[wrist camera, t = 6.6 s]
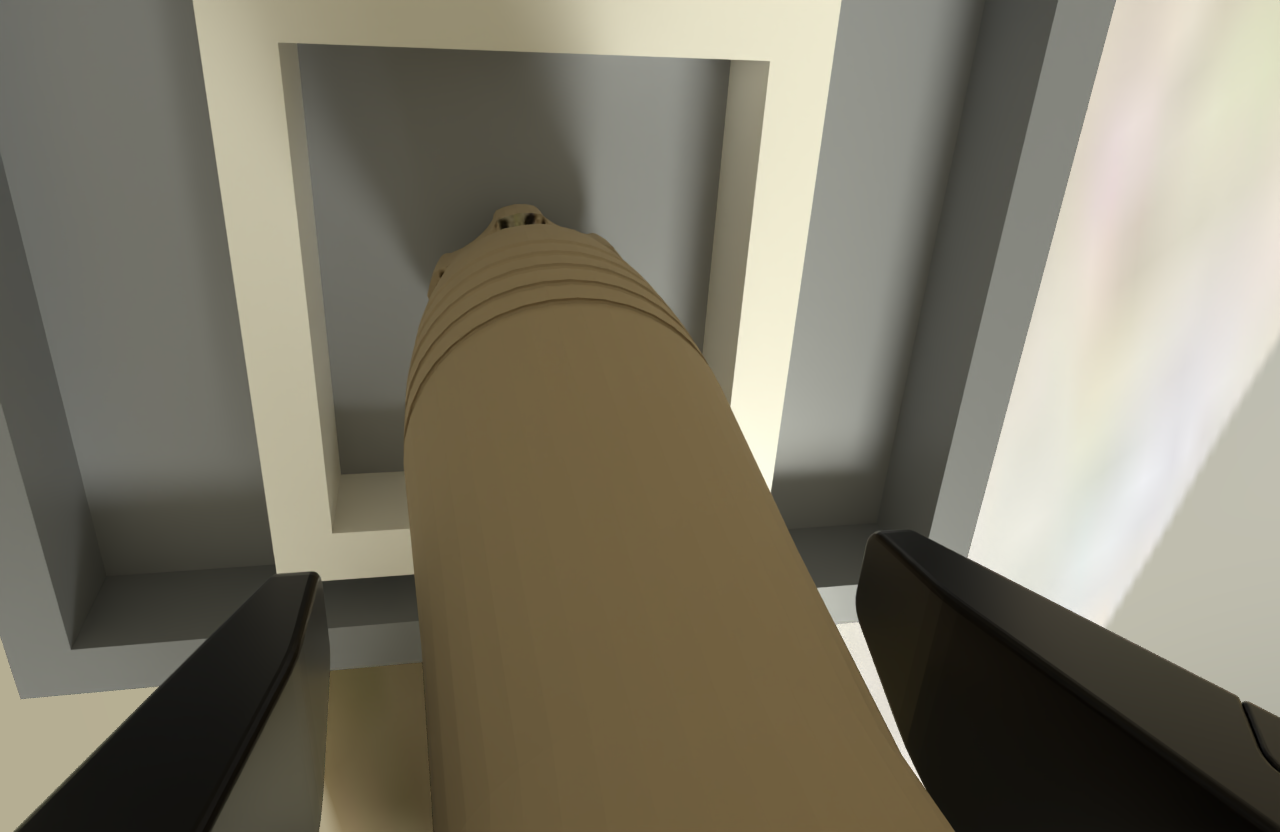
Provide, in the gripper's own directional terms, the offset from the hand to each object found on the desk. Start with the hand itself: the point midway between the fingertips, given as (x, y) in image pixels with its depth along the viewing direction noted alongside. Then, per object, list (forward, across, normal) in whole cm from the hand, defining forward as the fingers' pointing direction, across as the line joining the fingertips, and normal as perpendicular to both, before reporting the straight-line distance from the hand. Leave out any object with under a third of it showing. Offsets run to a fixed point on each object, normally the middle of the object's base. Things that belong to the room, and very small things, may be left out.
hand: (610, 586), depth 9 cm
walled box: (+9, 0, 0) cm, 9 cm away
